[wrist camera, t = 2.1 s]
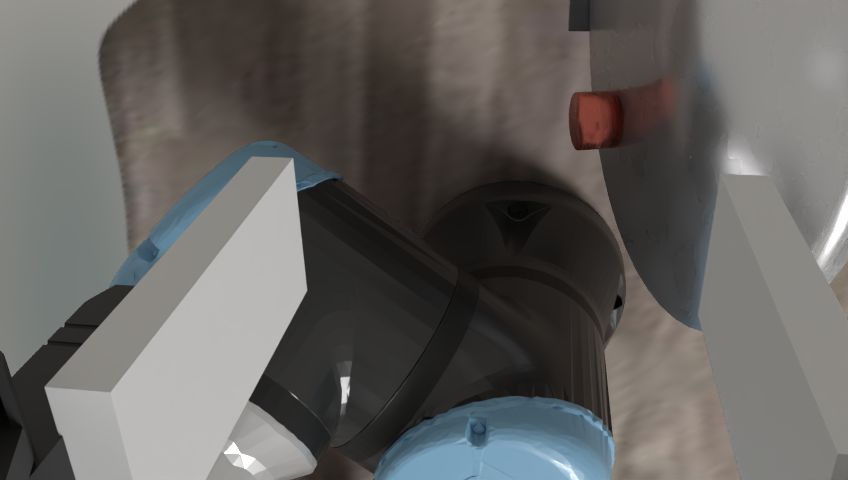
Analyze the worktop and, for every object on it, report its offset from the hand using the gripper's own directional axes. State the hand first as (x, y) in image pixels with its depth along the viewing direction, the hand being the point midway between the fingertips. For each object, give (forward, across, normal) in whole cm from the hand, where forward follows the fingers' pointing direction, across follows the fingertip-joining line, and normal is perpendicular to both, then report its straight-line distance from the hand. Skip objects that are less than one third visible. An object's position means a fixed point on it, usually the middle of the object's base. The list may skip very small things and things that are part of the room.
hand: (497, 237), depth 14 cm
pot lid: (+16, +6, 0) cm, 17 cm away
